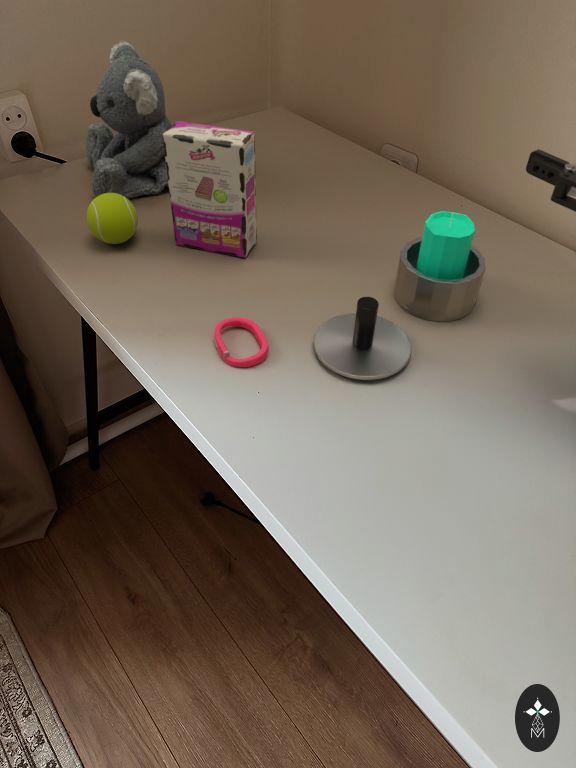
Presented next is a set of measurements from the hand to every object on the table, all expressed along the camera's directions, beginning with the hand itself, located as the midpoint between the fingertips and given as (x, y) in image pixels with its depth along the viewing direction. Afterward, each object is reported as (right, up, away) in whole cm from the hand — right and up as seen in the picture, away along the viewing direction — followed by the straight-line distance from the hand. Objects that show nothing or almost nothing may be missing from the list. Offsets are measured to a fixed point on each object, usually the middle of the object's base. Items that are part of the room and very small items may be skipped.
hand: (556, 148), depth 62 cm
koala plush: (-50, +12, +45) cm, 68 cm away
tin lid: (-18, -19, +14) cm, 29 cm away
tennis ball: (-51, -2, +30) cm, 60 cm away
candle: (-7, -11, +22) cm, 26 cm away
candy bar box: (-37, -3, +30) cm, 48 cm away
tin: (-7, -11, +22) cm, 26 cm away
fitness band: (-32, -19, +14) cm, 40 cm away
